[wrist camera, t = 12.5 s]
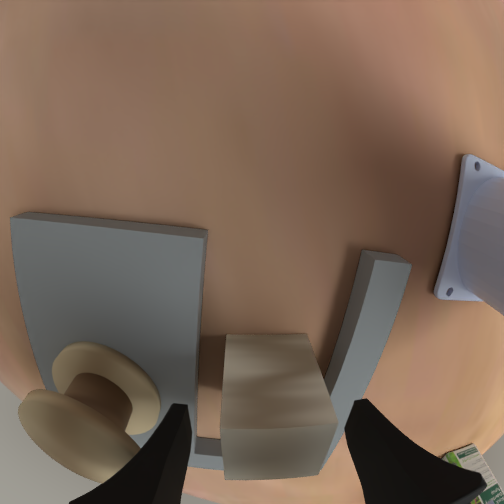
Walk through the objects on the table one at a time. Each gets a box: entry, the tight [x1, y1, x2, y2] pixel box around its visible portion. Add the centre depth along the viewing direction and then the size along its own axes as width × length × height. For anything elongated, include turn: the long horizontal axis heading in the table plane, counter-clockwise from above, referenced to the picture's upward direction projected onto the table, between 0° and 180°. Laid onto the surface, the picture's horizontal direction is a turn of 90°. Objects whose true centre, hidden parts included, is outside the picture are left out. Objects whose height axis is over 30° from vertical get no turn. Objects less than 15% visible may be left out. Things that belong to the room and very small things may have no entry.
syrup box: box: [442, 443, 504, 504], centre depth 14 cm, size 6×6×14 cm
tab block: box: [220, 334, 339, 480], centre depth 12 cm, size 4×4×6 cm
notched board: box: [10, 212, 412, 470], centre depth 14 cm, size 19×16×2 cm
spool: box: [18, 341, 161, 483], centre depth 11 cm, size 6×6×5 cm
